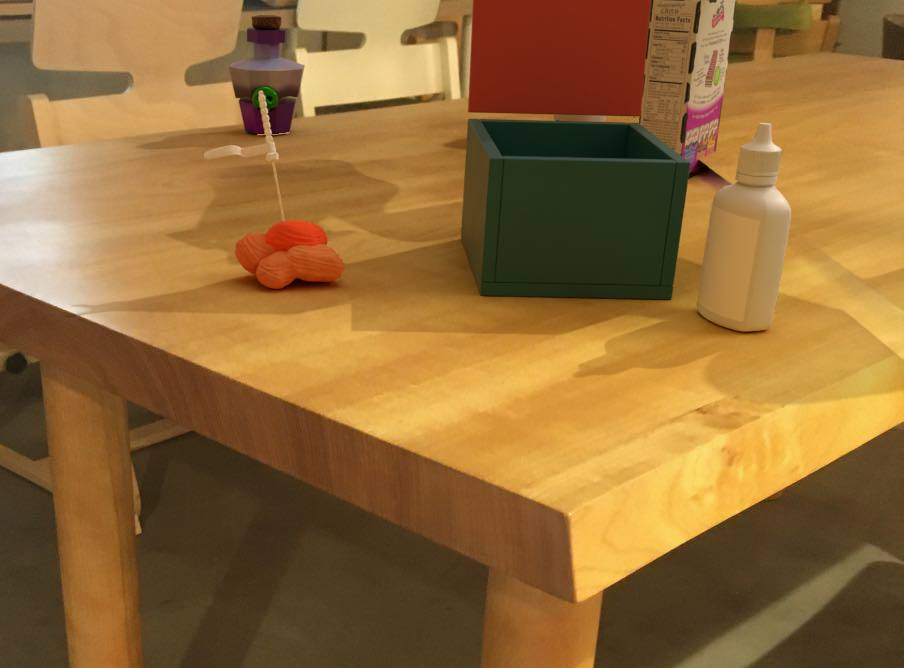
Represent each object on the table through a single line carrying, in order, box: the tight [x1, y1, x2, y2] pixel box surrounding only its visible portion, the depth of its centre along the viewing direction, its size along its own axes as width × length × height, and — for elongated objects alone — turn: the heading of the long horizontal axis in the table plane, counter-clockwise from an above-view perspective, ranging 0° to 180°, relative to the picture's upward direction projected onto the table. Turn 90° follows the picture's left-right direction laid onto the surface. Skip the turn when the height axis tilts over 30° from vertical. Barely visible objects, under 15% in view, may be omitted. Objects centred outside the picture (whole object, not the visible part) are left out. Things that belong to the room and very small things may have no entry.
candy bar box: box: [638, 0, 737, 178], centre depth 119 cm, size 11×5×16 cm, turn 148°
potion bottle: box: [228, 14, 305, 136], centre depth 135 cm, size 9×9×12 cm
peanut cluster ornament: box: [203, 91, 345, 290], centre depth 82 cm, size 6×10×12 cm, turn 75°
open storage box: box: [460, 118, 691, 300], centre depth 88 cm, size 16×13×9 cm
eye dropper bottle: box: [696, 122, 792, 333], centre depth 76 cm, size 4×6×12 cm
